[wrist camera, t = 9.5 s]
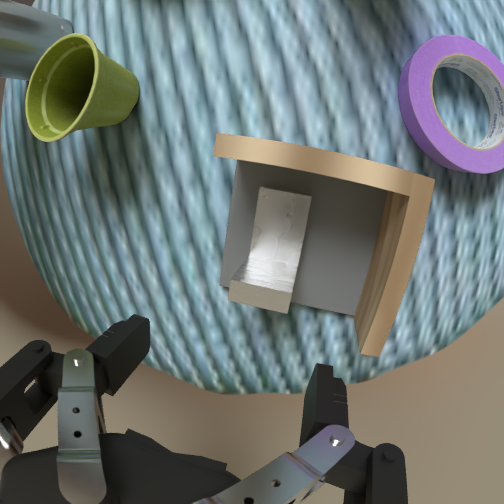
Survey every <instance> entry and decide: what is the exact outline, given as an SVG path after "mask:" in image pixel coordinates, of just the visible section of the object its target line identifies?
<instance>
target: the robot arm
mask: <svg viewBox="0 0 504 504" xmlns="http://www.w3.org/2000/svg"><path fill="white" fill-rule="evenodd" d="M72 33H73V29H72V25H71V23H70V21H68V20H67V19H64V18H62V17H59V16H56V15H53V14H50V13H48V12H45V11H42V10H39V9H36V8H33V7H30V6H26V5H23V4H19V3H17V2H13V1H9V0H0V77H3V78H12V79H20V80H29V81H30V78H31V75H32V73H33V71H34V69H35V67H36V65H37V63H38V62H39V60H40V58H41V57H42V56H43V54H44V53H45V52H46V51H47V50H48V48H49V47H50V46H52V45H53V44H54V43H55V42H56V41H58V40H59V39H60V38H62V37H64V36H67V35H69V34H72ZM149 348H150V321H149V319H148V318H145V317H142V316H139V315H136V314H134V315H132V316H131V317H130V318H129V319H128V320H127V321H123V320H122V321H120V322H117V323H115V324H113V325H112V326H111V327H110V328H109V329H107V331H105V332H104V333H103V334H102V335H101V336H100V337H98V338H97V339H96V340H95V341H94V342H93V343H92V344H91V345H89V346H88V347H87V348H86V349H85V350H84V349H74V350H71V351H69V352H67V353H66V354H60V353H56V352H52V350H51V346H50V344H49V343H48V342H46V341H43V340H35V341H32V342H30V343H28V344H27V345H26V346H25V347H23V348H22V349H21V350H20V351H19V352H18V353H16V354H15V355H14V356H13V357H12V358H11V359H9V360H8V361H7V362H6V363H5V364H4V365H3V366H1V367H0V478H1V480H0V504H301V503H302V502H303V501H304V500H306V499H307V498H308V497H309V496H310V495H312V494H313V493H314V492H315V491H316V490H317V489H319V488H320V487H321V486H322V485H323V484H324V483H325V482H326V483H329V484H331V485H334V486H337V487H339V488H342V489H345V493H344V502H343V504H408V496H407V481H406V468H405V457H404V454H403V452H402V451H401V449H400V448H399V447H397V446H395V445H393V444H390V443H383V444H380V445H378V446H376V448H372V447H369V446H366V445H364V444H361V443H359V442H358V441H356V440H355V437H354V435H353V433H352V432H351V431H350V430H349V424H348V405H347V393H346V392H347V391H346V386H345V384H344V382H343V381H342V379H341V378H335V377H333V366H330V365H324V364H319V363H317V364H316V365H315V368H314V371H313V373H312V376H311V379H310V381H309V384H308V387H307V390H306V393H305V398H304V408H303V418H302V427H301V436H300V444H299V448H298V449H297V450H295V451H294V452H292V453H289V452H286V453H284V454H282V455H281V456H279V457H278V458H277V459H275V460H273V461H272V462H270V463H269V464H268V465H266V466H264V467H263V468H261V469H259V470H258V471H256V472H255V473H253V474H251V475H250V476H248V477H246V478H245V479H244V480H240V479H239V478H237V477H236V476H235V475H233V474H232V473H230V472H228V471H226V466H227V463H223V462H219V461H215V460H212V459H209V458H205V457H202V456H194V455H186V454H179V453H174V452H171V451H169V450H168V449H166V448H165V447H163V446H162V445H160V444H159V443H157V442H156V441H154V440H153V439H151V438H149V437H147V436H145V435H142V434H140V433H137V432H135V431H133V430H130V429H128V430H127V431H126V433H125V434H120V433H107V431H106V426H105V419H104V413H103V404H102V398H101V396H102V395H103V394H104V393H107V394H109V395H111V396H113V395H114V394H115V393H116V392H117V391H118V389H119V388H120V387H121V386H122V384H123V383H124V382H125V381H126V380H127V378H128V377H129V376H130V375H131V374H132V372H133V371H134V370H135V369H136V368H137V366H138V365H139V364H140V363H141V362H142V360H143V359H144V358H145V357H146V355H147V354H148V352H149ZM33 380H35V383H34V384H33V385H32V386H31V387H30V388H29V389H28V390H27V391H26V392H25V393H24V391H25V388H26V387H27V386H28V385H29V384H30V383H31V382H32V381H33ZM57 400H58V446H55V447H50V448H47V449H42V450H38V451H33V452H28V453H22V451H23V441H24V440H25V439H26V437H27V436H28V435H29V434H30V432H31V431H32V430H33V429H34V427H36V425H37V424H38V423H39V422H40V420H41V419H42V418H43V417H44V416H45V415H46V413H47V412H48V411H49V410H50V409H51V407H52V406H53V405H54V404H55V403H56V402H57Z"/></svg>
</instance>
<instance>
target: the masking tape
mask: <svg viewBox="0 0 504 504" xmlns="http://www.w3.org/2000/svg"><path fill="white" fill-rule="evenodd" d="M440 67H450V68H454V69H457V70H460V71H462V72H463V73H465V74H466V75H468V76H469V77H470V78H471V79H472V80H474V81H475V83H476V84H477V85H478V86H479V88H480V89H481V90H482V92H483V94H484V96H485V98H486V101H487V104H488V107H489V113H490V123H489V129H488V132H487V135H486V136H485V138H484V139H483V141H482V142H481V143H480V144H478V145H477V146H475V147H471V146H468V145H466V144H465V143H463V142H462V141H460V140H459V139H457V138H456V137H455V136H454V135H453V134H452V133H451V132H450V131H449V129H448V128H447V127H446V125H445V124H444V122H443V121H442V119H441V117H440V115H439V113H438V111H437V108H436V105H435V102H434V97H433V88H432V84H433V77H434V74H435V71H436V69H437V68H440ZM398 99H399V105H400V110H401V114H402V117H403V120H404V123H405V125H406V127H407V129H408V131H409V133H410V135H411V136H412V138H413V140H414V141H415V142H416V144H417V145H418V146H419V147H420V149H421V150H422V151H423V152H424V153H425V154H426V155H428V156H429V157H430V158H431V159H433V160H434V161H435V162H437V163H438V164H440V165H442V166H443V167H446V168H448V169H451V170H455V171H460V172H470V173H478V174H489V173H493V172H496V171H499V170H501V169H503V168H504V65H503V64H502V62H501V61H500V60H499V59H498V58H497V57H496V56H495V55H494V54H493V53H492V52H490V51H489V50H488V49H487V48H485V47H484V46H482V45H481V44H479V43H477V42H475V41H473V40H471V39H468V38H466V37H462V36H458V35H441V36H437V37H434V38H431V39H429V40H428V41H426V42H425V43H424V44H422V45H421V46H420V47H419V49H418V50H417V51H416V52H415V53H414V54H413V56H412V57H411V58H410V59H409V60H408V62H407V63H406V64H405V66H404V68H403V70H402V72H401V75H400V79H399V85H398Z"/></svg>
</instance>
